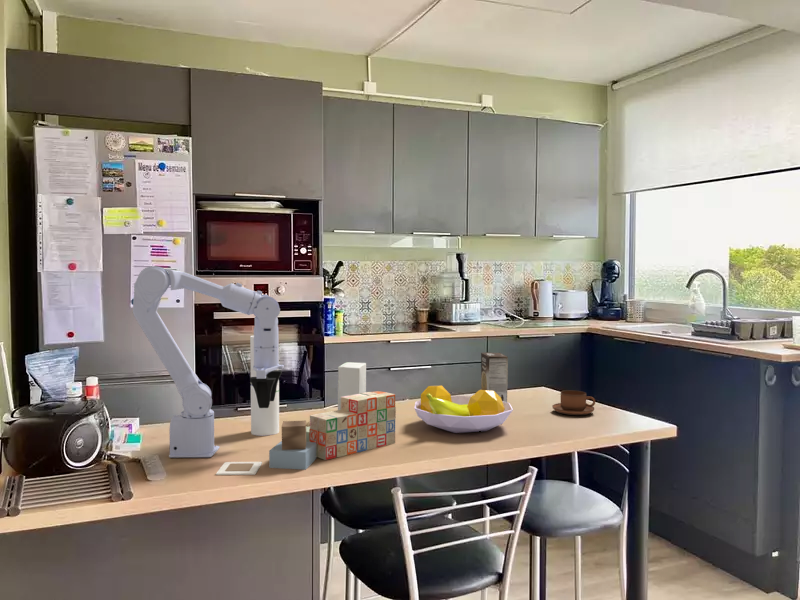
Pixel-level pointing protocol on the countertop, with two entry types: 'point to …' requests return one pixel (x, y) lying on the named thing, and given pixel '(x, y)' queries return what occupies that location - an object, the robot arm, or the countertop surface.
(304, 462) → the base block
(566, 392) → the cup and saucer
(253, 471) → the white flat square frame
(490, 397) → the fruit bowl
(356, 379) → the skincare box
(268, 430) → the cylindrical container
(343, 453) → the stack of blocks
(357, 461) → the countertop surface
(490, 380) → the coffee box
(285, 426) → the walnut cube
